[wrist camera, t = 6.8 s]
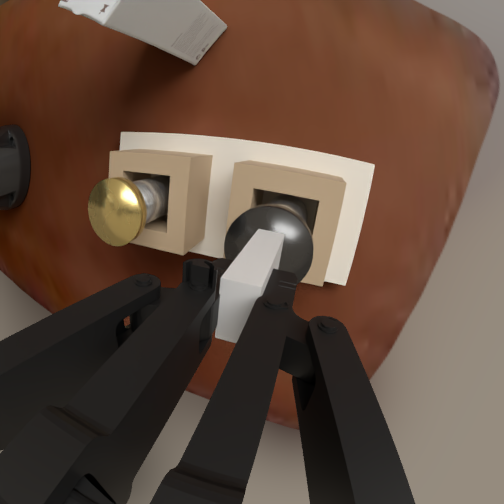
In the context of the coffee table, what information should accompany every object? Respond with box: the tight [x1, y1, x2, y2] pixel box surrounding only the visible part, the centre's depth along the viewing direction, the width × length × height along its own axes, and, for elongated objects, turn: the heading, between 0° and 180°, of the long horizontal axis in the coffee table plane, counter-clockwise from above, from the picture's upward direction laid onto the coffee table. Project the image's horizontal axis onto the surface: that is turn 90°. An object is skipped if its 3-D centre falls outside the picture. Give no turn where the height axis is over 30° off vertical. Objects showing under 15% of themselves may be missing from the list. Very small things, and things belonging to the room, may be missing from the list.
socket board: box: [109, 132, 375, 286], centre depth 26 cm, size 26×12×7 cm, turn 82°
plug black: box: [224, 194, 314, 284], centre depth 21 cm, size 5×5×9 cm
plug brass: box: [88, 175, 170, 246], centre depth 24 cm, size 5×5×9 cm
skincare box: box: [58, 0, 227, 65], centre depth 17 cm, size 8×6×15 cm
